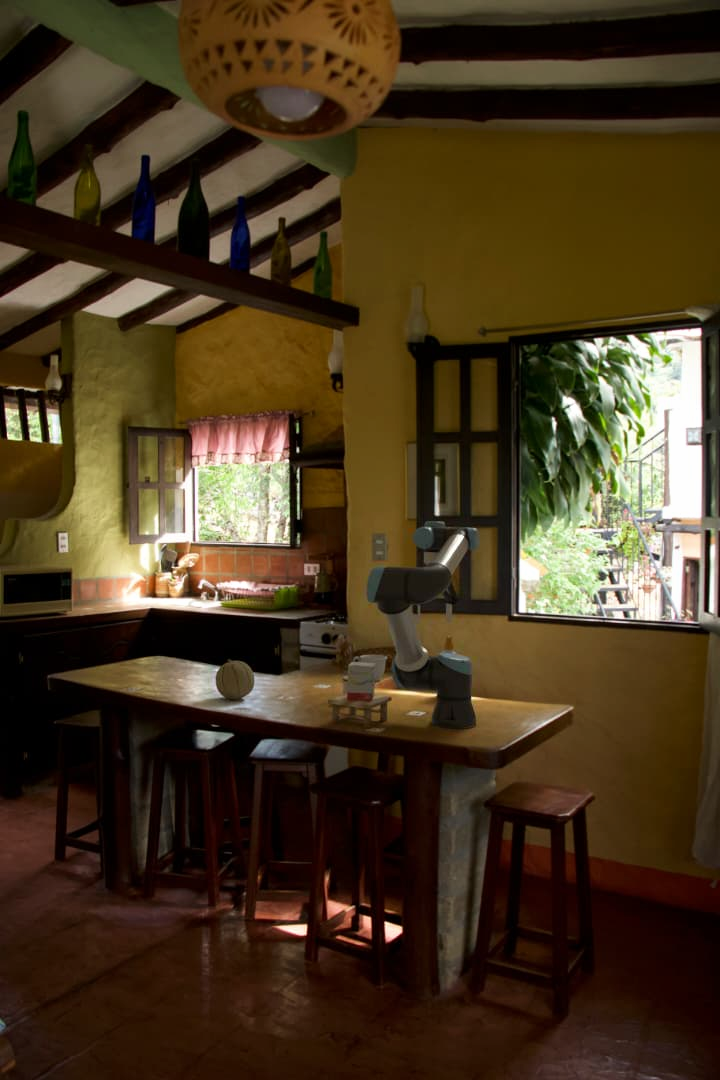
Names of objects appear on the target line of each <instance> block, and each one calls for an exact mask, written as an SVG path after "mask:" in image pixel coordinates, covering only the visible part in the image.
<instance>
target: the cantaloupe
mask: <svg viewBox="0 0 720 1080" xmlns="http://www.w3.org/2000/svg"><path fill="white" fill-rule="evenodd" d="M215 686H216V689H217V691H218V693H219V694H220V696H222V697H223V698H225V699H229V700H234V701H239V700H240V699H243V698H245V697H247V696H248V695H249V694H250V693H251V692H252V691H253V690H254V686H255V674H254V672H253V670H252V668H251V667H250V666H249V665H248V663H246V662H244V661H241V660H231V659H229V658H228V659H227V660H226V663H224V664H223V665H221V666H220V667H219V668H218V669H217V671H216V674H215Z"/></svg>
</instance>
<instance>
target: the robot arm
mask: <svg viewBox="0 0 720 1080" xmlns="http://www.w3.org/2000/svg"><path fill="white" fill-rule="evenodd" d="M412 540H413V543H414V545H415V546H416V547H417V548H420V549H423V563H424V565H423V566H421V567H417V566H413V567H411V566H387V565H378V566H377V565H376V566H374V567H373V568H372V569H371V570H370V572H369V575H368V576H367V577H368V578H367V583H366V598H367V601H368V602H369V603H371V604H376V606H377V608H378V610H379V612H380V613H382V614H384V616H385V619H386V622H387V625H388V628H389V632H390V635H391V639H392V642H393V645H394V648H395V652H396V654H395V655H394V657H393V659H392V662H391V672H392V673H391V676H392V681H393V682H394V684H395V685H396V686H397V687H398V688H400V689H401V688H402V689H406V690H419V691H430V692H431V691H432V692H436V701H435V705H434V707H433V709H432V714H431V721H430V722H431V724H432V725H434V726H436V727H440V728H447V729H466V728H465V727H469V728H471V727H470V726H473V725H475V724H476V725H477V717H476V713H475V709H474V706H473V703H472V694H473V693H472V691H473V690H472V686H473V670H472V669H473V665H472V664H473V663H472V660H471V659H470V658H469V657H468V656H465V655H462V654H458V653H456V654H454V653H442V652H438V654H437V656H432V655H429V653H428V650H427V649H426V648H425V647H424V646H422V642H421V641H420V636H419V633H418V630H417V625H416V624H419V625H420V624H421V605H423V604H426V603H429V602H431V601H433V600H435V599H437V598H438V597H440V596H441V595H442V596H443V598H444V599H445V601H446V602H447V603H445V622H448V623H452V622H453V619H452V618H453V613H454V611H455V610H454V608H455V607H454V605H455V604H456V603H458V602H459V598H458V596H457V592H456V590H455V587H454V585H453V582H452V581H453V574H454V572H455V570H456V569H457V567H458V566H459V564H460V562H461V561H462V559H463V558H464V556H465V554H466V553H467V552H468V550H469V551H472V550H477V549H478V548H479V544H480V533H479V530H478V529H477V528H475V527H468V526H466V527H461V526H460V527H459V526H458V527H449V526H448V527H446V523H445V522H444V521H429V520H428V521H425V523H424V526H421V527H419V528H417V529H416V530H414V532H413V536H412ZM411 606H412V607H411ZM476 725H475V726H476ZM473 727H474V726H473Z"/></svg>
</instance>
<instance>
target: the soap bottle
mask: <svg viewBox="0 0 720 1080" xmlns="http://www.w3.org/2000/svg"><path fill="white" fill-rule="evenodd" d="M441 653H454V654H457V653H456V651H454V642H453V635H446V640H445V642H444V650H443V651H442V652H441Z"/></svg>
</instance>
